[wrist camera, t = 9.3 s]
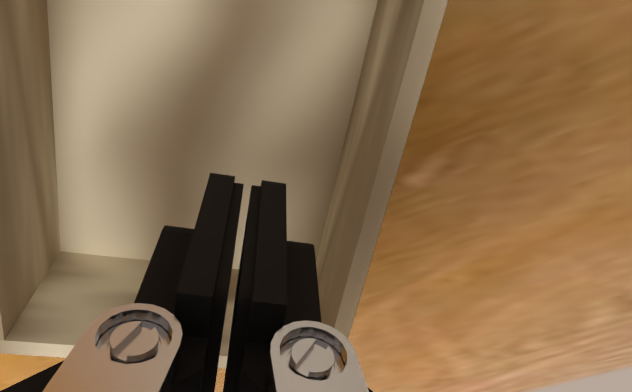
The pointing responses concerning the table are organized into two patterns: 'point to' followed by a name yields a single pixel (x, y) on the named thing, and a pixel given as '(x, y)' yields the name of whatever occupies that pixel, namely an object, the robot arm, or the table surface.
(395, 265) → the table surface
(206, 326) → the robot arm
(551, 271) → the table surface
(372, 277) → the table surface
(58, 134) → the crate
